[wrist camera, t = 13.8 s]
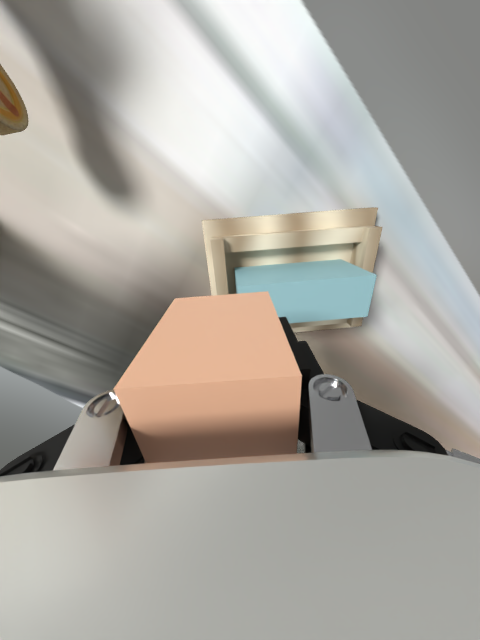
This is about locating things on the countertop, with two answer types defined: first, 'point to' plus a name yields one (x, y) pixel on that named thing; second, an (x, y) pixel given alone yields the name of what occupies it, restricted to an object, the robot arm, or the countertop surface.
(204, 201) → the countertop surface
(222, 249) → the jig
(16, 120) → the toy helicopter
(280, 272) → the light blue block
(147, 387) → the peach brick
